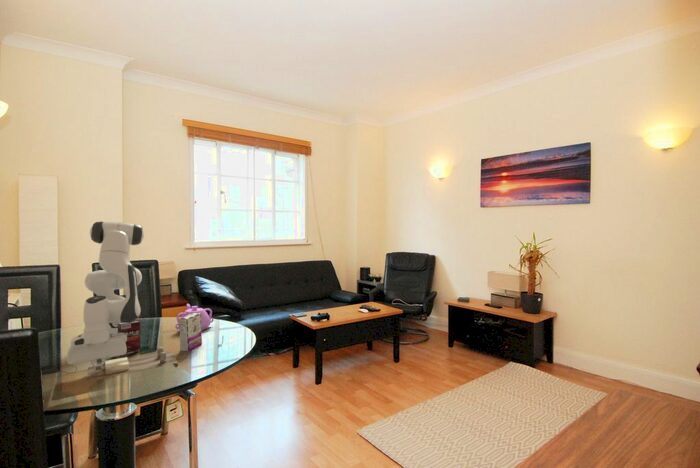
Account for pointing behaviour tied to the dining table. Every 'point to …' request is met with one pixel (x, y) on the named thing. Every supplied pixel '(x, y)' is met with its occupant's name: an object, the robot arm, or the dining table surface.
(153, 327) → the dining table surface
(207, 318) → the teapot
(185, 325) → the candy bar box
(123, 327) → the supplement box
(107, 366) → the birch plate
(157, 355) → the board
